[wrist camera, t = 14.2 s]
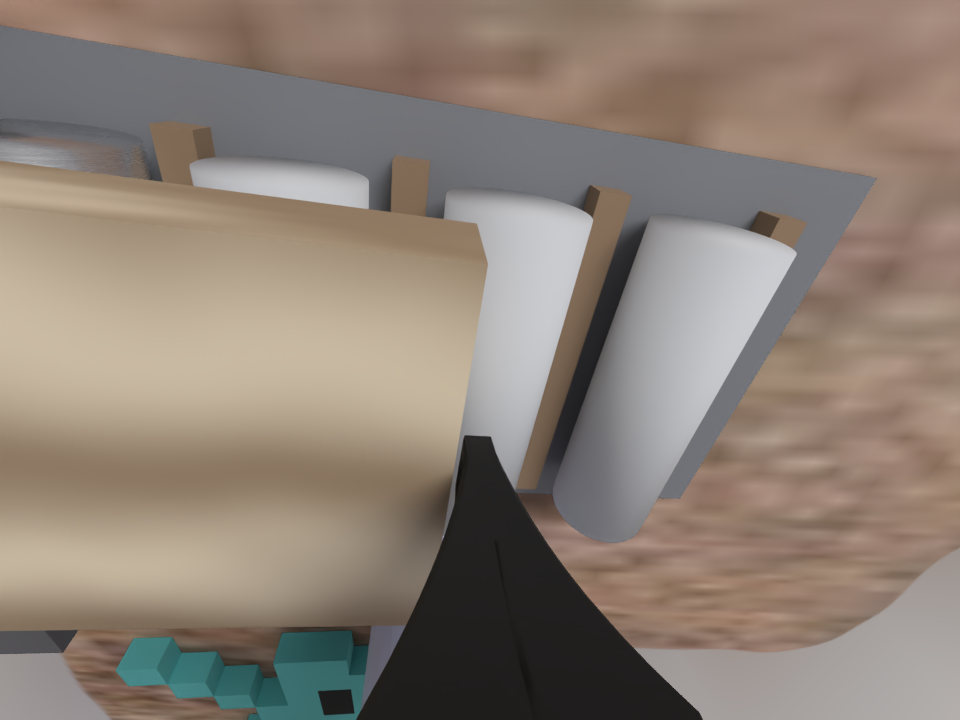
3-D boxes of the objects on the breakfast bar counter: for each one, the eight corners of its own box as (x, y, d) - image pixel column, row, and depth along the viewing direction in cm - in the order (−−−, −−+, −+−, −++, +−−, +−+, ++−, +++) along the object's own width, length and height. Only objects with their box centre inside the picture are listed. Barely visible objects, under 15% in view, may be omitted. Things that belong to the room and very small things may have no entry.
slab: (429, 552, 15) (428, 625, 13) (60, 547, 13) (-10, 630, 11) (476, 223, 9) (487, 264, 7) (-212, 132, 7) (-481, 150, 5)
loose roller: (-31, 111, 10) (-177, 130, 7) (162, 134, 12) (109, 159, 9) (117, 454, 17) (73, 543, 14) (230, 443, 18) (214, 521, 15)
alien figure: (213, 738, 37) (436, 724, 40) (201, 772, 35) (436, 755, 38) (138, 630, 26) (450, 619, 29) (115, 670, 25) (451, 655, 27)
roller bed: (665, 510, 23) (734, 638, 18) (106, 493, 19) (-27, 654, 14) (897, 125, 13) (1218, 149, 8) (-183, -89, 9) (-1138, -363, 4)
